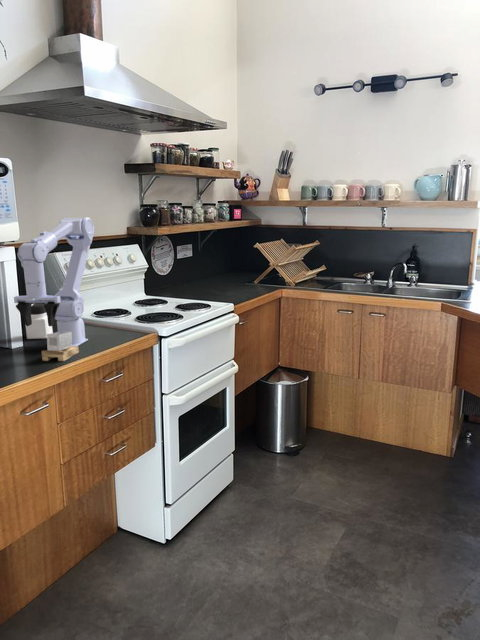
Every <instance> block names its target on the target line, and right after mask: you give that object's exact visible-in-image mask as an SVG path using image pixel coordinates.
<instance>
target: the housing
mask: <svg viewBox="0 0 480 640" xmlns="http://www.w3.org/2000/svg"><path fill="white" fill-rule="evenodd" d="M46 344H47V346H46V347H47V349H46V350H48V351H61V350H64V349H67V348H71V347H72V332H70V331H59V332H58V331H56V332H53V333H51V334H47V338H46Z"/></svg>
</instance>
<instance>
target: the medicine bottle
mask: <svg viewBox="0 0 480 640" xmlns="http://www.w3.org/2000/svg"><path fill="white" fill-rule="evenodd" d="M45 304H46V303H32V304H31V319H32V325H29V326H26V324H25V333H26V339H27V340H34V339H35V340H37V339H47V334H51V333H54V331H53V326H49V325H48V318H47V313H46V310H45V307H44V305H45Z"/></svg>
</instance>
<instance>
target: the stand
mask: <svg viewBox="0 0 480 640" xmlns="http://www.w3.org/2000/svg"><path fill="white" fill-rule="evenodd" d="M79 349H80V348H79V346H72V347H71V348H67V349H64V350H61V351H48V349H46V350H41V359H42V361H44V362H48V361H51V360H52V359H54V358H57V361H58V362H65V361H66V360H68V359H70V358H72V357H73V356H74V355H77V354H78V353H80V350H79Z"/></svg>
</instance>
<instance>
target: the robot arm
mask: <svg viewBox="0 0 480 640" xmlns="http://www.w3.org/2000/svg"><path fill="white" fill-rule="evenodd" d="M95 229H96V228H95V225H94V223H93V220H92V218H90V217H88V216H85V217H63V218H62V219H61V220H60V221H59V223H58V225H56V226H55V227H54V228H53V229H52V230H50V231H41V232H39V235H38V236H36V237H35V238H32V239H30V240H31V241H29V242H24V243H22V244H21V245H19V247H18V251H17V253H16V254H17V258H18V259H19V261H20V263H21V264H20V265H21V267H22V268H23V273H24V283H25V292H26V295H15V296H14V297H13V302H14V304H15V308H16V310H18V312H19V314H20V315H21V317H22V318H23V321H24V323H25V324H26V325H25V327H26V326H29V325H32V319H31V304H36V303H42V304H45V305H44V307H45V310H46V313H47V314H46V315H47V318H48V325H49V326H52V327H53V326H54V325H55V320H56V326H57V332H59V331H70V332H72V346H78V347H79V346H81V345H82V344H84V343H85V342H87V341H88V340H89V339H88V338H86V332H85V331H86V330H85V329H86V328H85V322H84V320H83V318H82V316H83V314H84V311H85V309H84V308H85V307H84V304H85V303H84V302H85V299H84V297H83V296H82V294H80V289H81V285H82V280H83V277H84V273H85V269H86V265H87V260H88V257H89V251H90V249H91V248H90V247H91V245H92V242H93V240H94V239H93V238H94V234H95ZM63 238H65V240H66V241H67V243H68V244H69V245H70V246H72V251H71V255H70V258H69V262H68V266H67V269H66V274H65V277H64V283H63V285H62V289H61V290H59V291H58V292H56V293H55V295H52V294H51V295H48V294H47V287H46V277H45V270H44V269H45V268H44V266H45V265H44V262H45V260H46V258H47V255H48V254H49V253H50V252H51V251H52V250H54V249H55V248H56V247H57V246H58V241H60V240H62V239H63Z"/></svg>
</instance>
